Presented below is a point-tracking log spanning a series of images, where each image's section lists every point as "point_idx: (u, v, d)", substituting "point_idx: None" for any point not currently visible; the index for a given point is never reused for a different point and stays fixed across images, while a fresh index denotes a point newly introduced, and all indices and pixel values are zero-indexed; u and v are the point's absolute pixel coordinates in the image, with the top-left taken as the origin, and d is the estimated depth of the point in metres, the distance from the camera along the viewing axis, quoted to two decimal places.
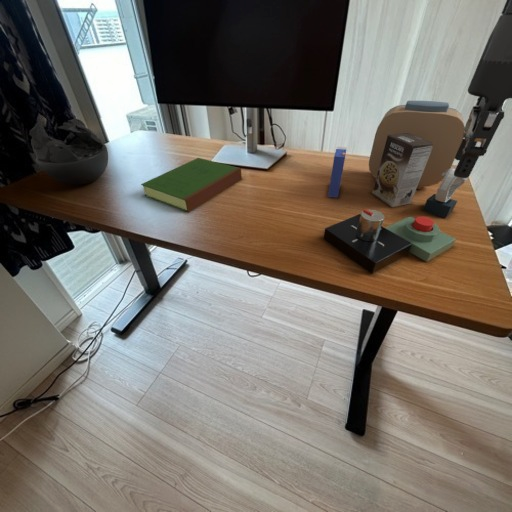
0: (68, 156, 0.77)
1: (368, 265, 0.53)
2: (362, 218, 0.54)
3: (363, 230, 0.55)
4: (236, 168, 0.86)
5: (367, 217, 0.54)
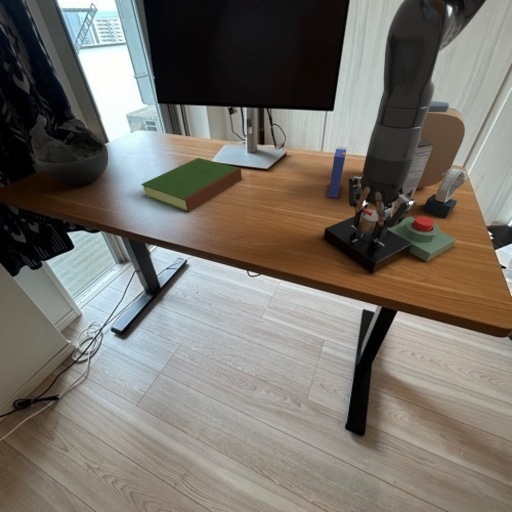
0: (68, 156, 0.77)
1: (368, 265, 0.53)
2: (362, 218, 0.54)
3: (363, 230, 0.55)
4: (236, 168, 0.86)
5: (367, 217, 0.54)
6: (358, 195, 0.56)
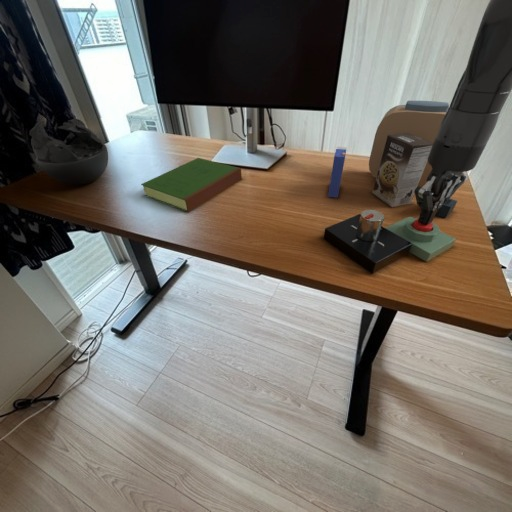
0: (68, 156, 0.77)
1: (368, 265, 0.53)
2: (378, 222, 0.53)
3: (379, 231, 0.55)
4: (236, 168, 0.86)
5: (379, 218, 0.53)
6: None
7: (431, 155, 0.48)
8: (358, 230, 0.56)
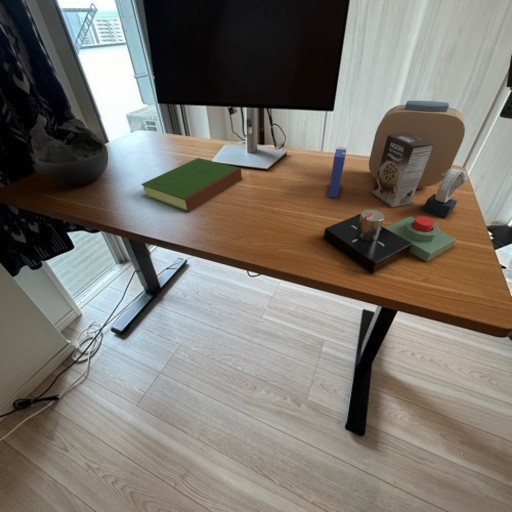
0: (68, 156, 0.77)
1: (368, 265, 0.53)
2: (378, 222, 0.53)
3: (379, 231, 0.55)
4: (236, 168, 0.86)
5: (379, 218, 0.53)
6: None
7: None
8: (358, 230, 0.56)
